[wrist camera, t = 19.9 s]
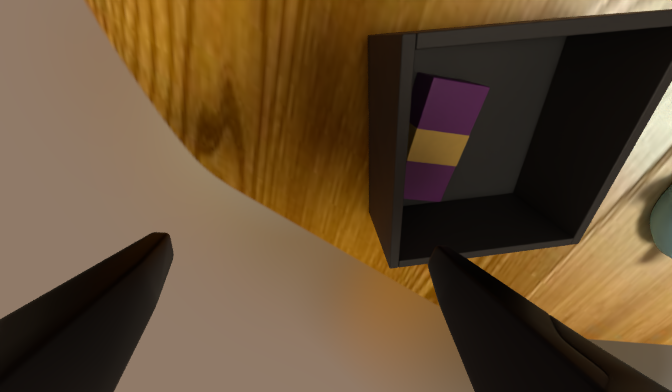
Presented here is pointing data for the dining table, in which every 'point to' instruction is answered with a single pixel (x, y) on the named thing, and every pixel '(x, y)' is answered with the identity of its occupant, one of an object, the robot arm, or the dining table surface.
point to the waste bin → (515, 128)
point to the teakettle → (663, 223)
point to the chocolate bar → (438, 132)
